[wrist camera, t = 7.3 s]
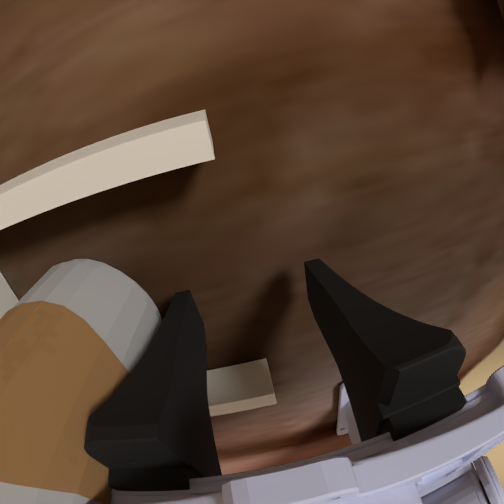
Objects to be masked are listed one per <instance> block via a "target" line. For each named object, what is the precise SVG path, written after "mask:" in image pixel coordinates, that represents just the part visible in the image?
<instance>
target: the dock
mask: <svg viewBox="0 0 504 504" xmlns="http://www.w3.org/2000/svg"><path fill="white" fill-rule="evenodd" d="M214 159H215V157H214V149H213V142H212V137H211V133H210V129H209V124H208V120H207V116H206V112H205V110H201V111H197V112H193V113H189V114H185V115H181V116H178V117H174V118H170V119H167V120H163V121H160V122H157V123H153V124H150V125H147V126H143V127H140V128H137V129H134V130H131V131H128V132H125V133H122V134H119V135H116V136H113V137H110V138H107V139H105V140H102V141H99V142H96V143H94V144H91V145H89V146H86V147H83V148H81V149H78V150H76V151H73V152H71V153H68V154H66V155H64V156H61V157H59V158H56V159H54V160H52V161H50V162H47V163H45V164H43V165H41V166H38V167H36V168H34V169H32V170H30V171H28V172H26V173H23V174H21V175H19V176H17V177H15V178H13V179H11V180H9V181H7V182H5V183H3V184H1V185H0V230H1V229H4V228H6V227H8V226H11V225H13V224H16V223H18V222H20V221H23V220H25V219H28V218H30V217H33V216H35V215H38V214H40V213H43V212H45V211H48V210H51V209H53V208H56V207H59V206H61V205H64V204H67V203H70V202H72V201H75V200H78V199H81V198H84V197H87V196H89V195H92V194H95V193H98V192H101V191H104V190H107V189H110V188H114V187H117V186H120V185H123V184H126V183H129V182H133V181H136V180H139V179H143V178H146V177H150V176H153V175H156V174H160V173H164V172H167V171H171V170H174V169H178V168H182V167H186V166H190V165H193V164H197V163H201V162H205V161H209V160H214ZM18 302H19V300H18V299H17V297H16V296H15V294H14V293H13V291H12V290H11V288H10V286H9V285H8V283H7V282H6V280H5V278H4V277H3V275H2V273H1V272H0V319H1V318H2V317H3V316H4V314H5V313H6V312H7V311H8V310H10V309H12V308H13V307H14V306H15V305H16V304H17V303H18ZM207 395H208V404H209V411H210V417H211V416H217V415H223V414H229V413H234V412H239V411H245V410H250V409H254V408H259V407H264V406H268V405H273V404H277V402H276V397H275V393H274V389H273V384H272V380H271V376H270V371H269V367H268V363H267V360H266V358H265V359H260V360H256V361H251V362H247V363H242V364H238V365H233V366H228V367H223V368H218V369H213V370H207Z"/></svg>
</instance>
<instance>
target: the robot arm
mask: <svg viewBox="0 0 504 504" xmlns="http://www.w3.org/2000/svg"><path fill="white" fill-rule="evenodd" d="M304 265H305V274H306V283H307V293H308V300H309V303H310V306H311V309H312V312H313V314H314V317H315V320H316V322H317V324H318V326H319V328H320V330H321V332H322V334H323V336H324V338H325V340H326V342H327V344H328V346H329V348H330V351H331V353H332V355H333V357H334V359H335V361H336V363H337V366H338V368H339V371H340V374H341V377H342V380H343V383H342V384H341V385H340V391H339V406H338V418H337V429H336V432H337V435H343V434H346V433H348V434H349V437H350V440H351V443H352V445H351V446H348V447H345V448H342V449H339V450H336V451H333V452H329V453H326V454H322V455H319V456H315V457H311V458H308V459H304V460H300V461H296V462H292V463H287V464H283V465H278V466H274V467H269V468H264V469H258V470H253V471H247V472H241V473H235V474H228V475H222V473H221V469H220V465H219V460H218V456H217V451H216V446H215V441H214V436H213V430H212V424H211V418H210V411H209V404H208V395H207V347H206V337H205V330H204V324H203V321H202V319H201V317H200V314H199V312H198V309H197V307H196V305H195V302H194V300H193V297H192V295H191V292H190V290H187V291H183V292H178V293H175V295H174V297H173V299H172V301H171V303H170V306H169V308H168V310H167V312H166V315H165V317H164V319H163V321H162V323H161V325H160V327H159V329H158V331H157V333H156V335H155V337H154V339H153V340H152V342H151V344H150V346H149V348H148V349H147V351H146V353H145V354H144V356H143V357H142V359H141V360H140V362H139V363H138V365H137V366H136V368H135V369H134V370H133V372H132V373H131V374H130V375H129V377H128V378H127V379H126V380H125V382H124V383H123V384H122V385H121V386H120V387H119V388H118V390H117V391H116V392H115V393H114V394H113V395H112V396H111V397H110V398H109V399H108V400H107V401H106V402H105V403H104V404H103V405H101V406H100V407H99V408H98V409H97V410H96V411H95V412H94V413H92V414H91V415H90V416H89V417H88V421H87V426H86V434H85V442H84V450H85V451H86V453H87V454H88V455H89V456H91V457H92V458H93V459H95V460H96V461H98V462H99V463H101V464H102V465H104V466H106V467H107V468H109V480H108V486H109V487H111V488H112V492H111V495H112V499H111V504H504V490H503V488H502V486H501V484H500V482H499V479H498V477H497V475H496V473H495V471H494V469H493V467H492V465H491V463H490V461H489V459H488V457H487V456H482V455H484V454H485V453H487V452H488V451H490V450H491V449H492V448H494V447H495V446H497V445H498V444H500V443H501V442H502V441H504V366H502V367H501V368H499V369H498V370H496V371H495V372H494V373H493V374H492V375H491V376H490V377H489V379H488V380H487V382H486V384H485V385H484V386H482V387H480V388H478V389H477V390H475V391H473V392H471V393H470V394H468V395H466V396H464V395H463V393H462V391H461V390H460V389H459V385H460V380H459V379H458V377H457V373H458V371H459V369H460V367H461V365H462V363H463V361H464V359H465V355H466V350H465V348H464V347H463V345H462V344H461V342H460V341H459V339H458V338H457V337H456V336H455V335H454V333H453V332H452V331H451V330H448V329H444V328H440V327H436V326H432V325H428V324H425V323H422V322H419V321H417V320H414V319H411V318H409V317H406V316H404V315H402V314H399V313H397V312H395V311H393V310H391V309H389V308H387V307H385V306H383V305H381V304H379V303H377V302H376V301H374V300H372V299H371V298H369V297H368V296H366V295H365V294H363V293H362V292H360V291H359V290H357V289H356V288H354V287H353V286H352V285H350V284H349V283H348V282H347V281H345V280H344V279H343V278H341V277H340V276H339V275H338V274H336V273H335V272H334V271H333V270H332V269H330V268H329V267H328V266H327V265H326V264H325V263H324V262H322V261H321V260H320V259H314V260H311V261H307V262H304ZM472 462H473V463H474V465H475V468H476V470H475V468H474V466H473V463H472Z"/></svg>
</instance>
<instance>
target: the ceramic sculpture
mask: <svg viewBox="0 0 504 504" xmlns="http://www.w3.org/2000/svg"><path fill="white" fill-rule="evenodd" d="M497 3H498V6H499V9H500V12H501V15H502V18H503V21H504V0H497Z"/></svg>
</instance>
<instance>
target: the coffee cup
mask: <svg viewBox="0 0 504 504" xmlns="http://www.w3.org/2000/svg"><path fill="white" fill-rule="evenodd" d="M161 323H162V318H161V316H160V313H159V311H158V308H157V307H156V305H155V304H154V302H153V301H152V300H151V298H150V297H149V295H148V294H147V293H146V292H145V291H144V290H143V289H142V288H141V287H140V286H139V285H138V284H137V283H136V282H135V281H133V280H132V279H131V278H129V277H128V276H126V275H125V274H124V273H122V272H121V271H119V270H117V269H115V268H113V267H111V266H109V265H107V264H105V263H102V262H98V261H94V260H90V259H73V260H71V261H68V262H63V263H60V264H57V265H55V266H52V267H51V268H50V269H49V270H48V271H47V272H46V273H45V274H44V275H43V276H42V278H41V279H40V280H39V281H38V282H37V283H36V284H35V285H34V286H33V287H32V288H31V289H30V290H29V291H28V292H27V293H26V294H25V295H24V296H23V297H22V299H21V300H20V301H19V302H18V303H17V304H16V305H15V306H14V307H13V308H12V309H10V310H8V311H7V312H6V313H5V314H4V316H3V317H2V318H1V319H0V504H111V499H112V495H111V492H112V488H111V487H109V486H108V480H109V468H107V467H106V466H104V465H102V464H101V463H99V462H98V461H96V460H95V459H93V458H92V457H91V456H89V455H88V454H87V453H86V451H85V450H84V442H85V434H86V426H87V421H88V417H89V416H90V415H91V414H92V413H94V412H95V411H96V410H97V409H98V408H99V407H100V406H101V405H103V404H104V403H105V402H106V401H107V400H108V399H109V398H110V397H111V396H112V395H113V394H114V393H115V392H116V391H117V390H118V388H119V387H120V386H121V385H122V384H123V383H124V382H125V380H126V379H127V378H128V377H129V375H130V374H131V373H132V372H133V370H134V369H135V368H136V366H137V365H138V363H139V362H140V360H141V359H142V357H143V356H144V354H145V353H146V351H147V349H148V348H149V346H150V344H151V342H152V340H153V339H154V337H155V335H156V333H157V331H158V329H159V327H160V325H161Z"/></svg>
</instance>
